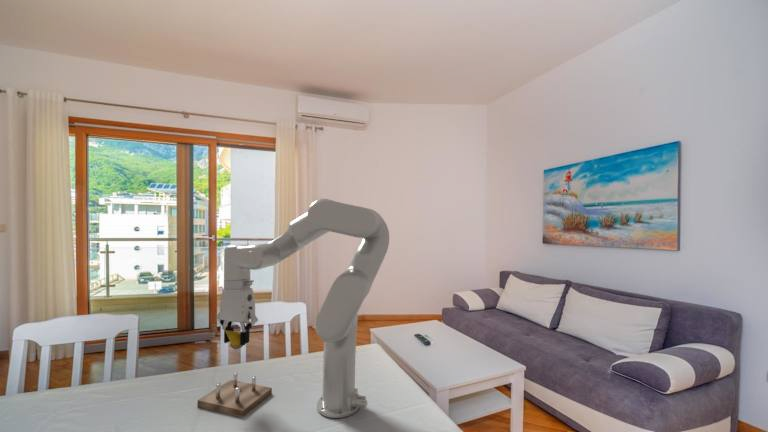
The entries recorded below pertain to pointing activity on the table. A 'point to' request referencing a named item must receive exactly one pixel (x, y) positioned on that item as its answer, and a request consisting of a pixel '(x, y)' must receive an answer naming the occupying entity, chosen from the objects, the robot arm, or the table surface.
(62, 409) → the table surface
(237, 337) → the olive yellow block
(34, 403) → the table surface
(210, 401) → the peg board
